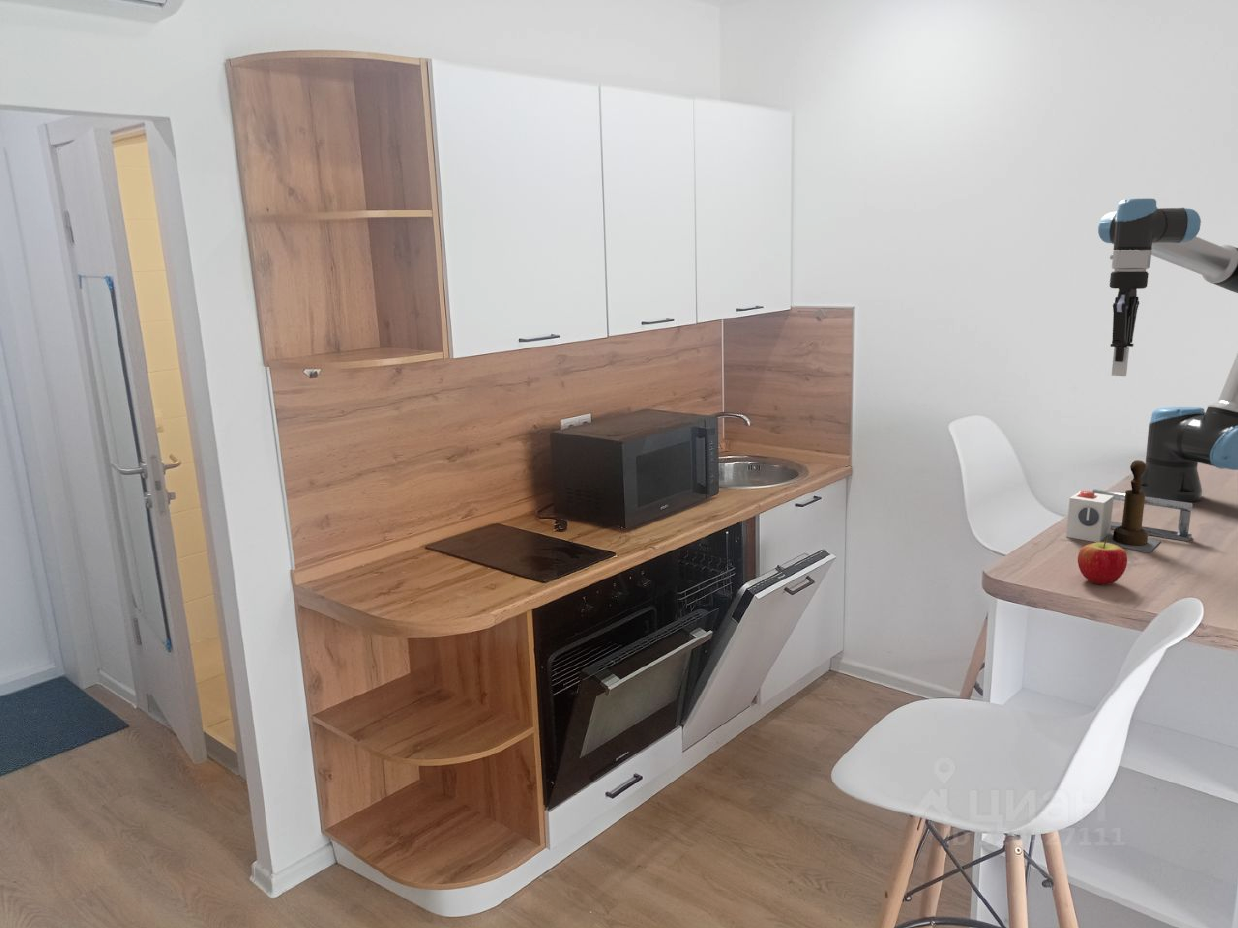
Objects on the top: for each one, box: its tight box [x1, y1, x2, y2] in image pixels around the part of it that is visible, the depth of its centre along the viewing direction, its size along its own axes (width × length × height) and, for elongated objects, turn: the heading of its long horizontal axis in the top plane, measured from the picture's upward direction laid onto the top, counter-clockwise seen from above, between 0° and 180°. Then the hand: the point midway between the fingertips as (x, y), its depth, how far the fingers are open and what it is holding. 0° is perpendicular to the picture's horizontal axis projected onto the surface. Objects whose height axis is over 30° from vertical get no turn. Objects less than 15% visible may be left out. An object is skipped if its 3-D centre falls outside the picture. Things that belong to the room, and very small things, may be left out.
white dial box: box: [1065, 490, 1115, 543], centre depth 212 cm, size 9×7×9 cm
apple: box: [1077, 535, 1128, 586], centre depth 182 cm, size 8×8×10 cm
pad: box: [1100, 531, 1162, 554], centre depth 207 cm, size 10×10×1 cm
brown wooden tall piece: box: [1113, 459, 1149, 546], centre depth 205 cm, size 7×6×18 cm
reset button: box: [1080, 490, 1094, 499], centre depth 212 cm, size 3×3×4 cm
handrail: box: [1091, 488, 1193, 542], centre depth 215 cm, size 4×21×8 cm, turn 49°
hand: (1118, 375), depth 218 cm, fingers closed
